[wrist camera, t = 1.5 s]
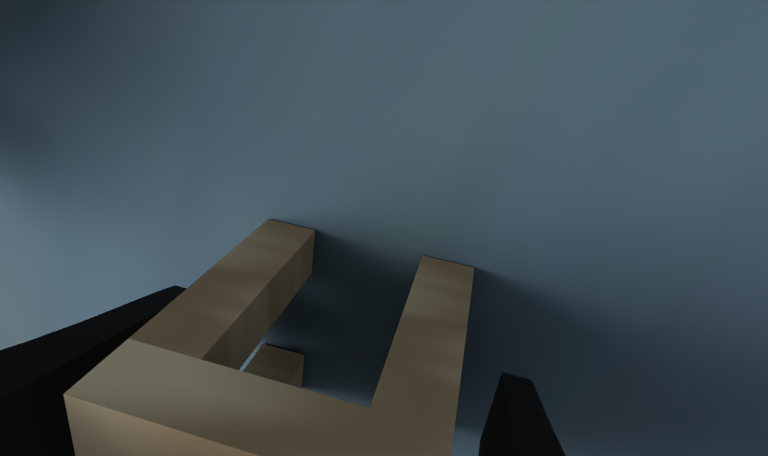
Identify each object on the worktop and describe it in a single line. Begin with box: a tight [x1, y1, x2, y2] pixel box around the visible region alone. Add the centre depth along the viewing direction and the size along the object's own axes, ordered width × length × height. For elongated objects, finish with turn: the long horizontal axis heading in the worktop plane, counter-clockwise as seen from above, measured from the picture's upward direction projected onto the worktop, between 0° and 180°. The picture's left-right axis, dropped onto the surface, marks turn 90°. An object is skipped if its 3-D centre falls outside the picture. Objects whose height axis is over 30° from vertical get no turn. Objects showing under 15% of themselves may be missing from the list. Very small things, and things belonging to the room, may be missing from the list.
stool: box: [63, 219, 474, 456], centre depth 10 cm, size 5×5×6 cm
